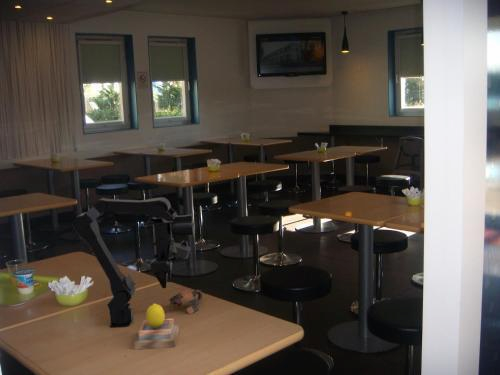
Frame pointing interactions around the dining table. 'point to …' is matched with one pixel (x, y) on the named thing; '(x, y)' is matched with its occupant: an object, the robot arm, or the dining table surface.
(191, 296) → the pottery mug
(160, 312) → the lemon
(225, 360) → the dining table surface
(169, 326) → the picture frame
